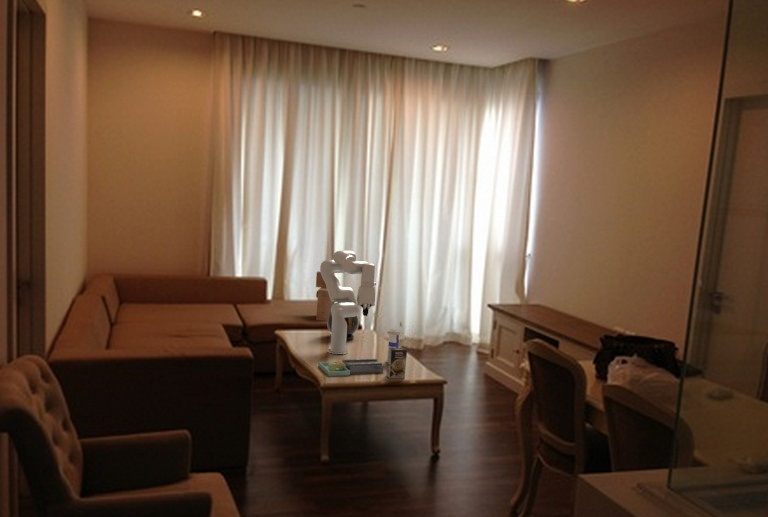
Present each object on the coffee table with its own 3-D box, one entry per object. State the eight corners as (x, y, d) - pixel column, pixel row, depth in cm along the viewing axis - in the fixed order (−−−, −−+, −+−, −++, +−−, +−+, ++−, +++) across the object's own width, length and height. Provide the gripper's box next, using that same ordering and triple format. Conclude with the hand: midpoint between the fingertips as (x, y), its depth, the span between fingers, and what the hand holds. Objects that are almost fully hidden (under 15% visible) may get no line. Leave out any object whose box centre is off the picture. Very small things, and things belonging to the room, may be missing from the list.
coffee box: (389, 378, 374) (391, 350, 372) (386, 375, 380) (388, 347, 378) (405, 378, 376) (407, 350, 375) (401, 375, 382) (403, 347, 381)
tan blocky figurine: (315, 315, 538) (318, 271, 534) (333, 316, 537) (335, 272, 533) (310, 319, 519) (313, 274, 516) (329, 321, 518) (332, 275, 514)
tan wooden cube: (334, 362, 383) (334, 369, 383) (327, 362, 381) (327, 369, 382) (336, 364, 379) (336, 371, 379) (329, 364, 377) (329, 371, 378)
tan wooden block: (338, 359, 383) (343, 363, 384) (334, 365, 383) (340, 369, 384) (340, 361, 379) (346, 365, 381) (336, 367, 379) (342, 371, 380)
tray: (318, 366, 388) (318, 362, 388) (338, 365, 393) (339, 361, 393) (328, 376, 370) (329, 371, 370) (349, 375, 374) (350, 371, 374)
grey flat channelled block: (341, 367, 390) (342, 358, 390) (374, 365, 398) (375, 357, 397) (349, 373, 377) (350, 365, 377) (383, 372, 385) (383, 364, 384)
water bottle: (390, 359, 415) (393, 319, 413) (401, 362, 410) (404, 321, 407) (382, 361, 409) (385, 320, 406) (393, 364, 404) (396, 323, 401)
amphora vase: (356, 342, 454) (359, 301, 451) (324, 340, 454) (327, 299, 451) (358, 335, 475) (361, 296, 472) (327, 333, 475) (330, 294, 472)
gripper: (377, 283, 401) (374, 314, 403) (353, 283, 396) (351, 314, 398) (381, 285, 395) (379, 316, 396) (357, 285, 389) (355, 316, 391)
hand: (365, 315), depth 397 cm, fingers closed
